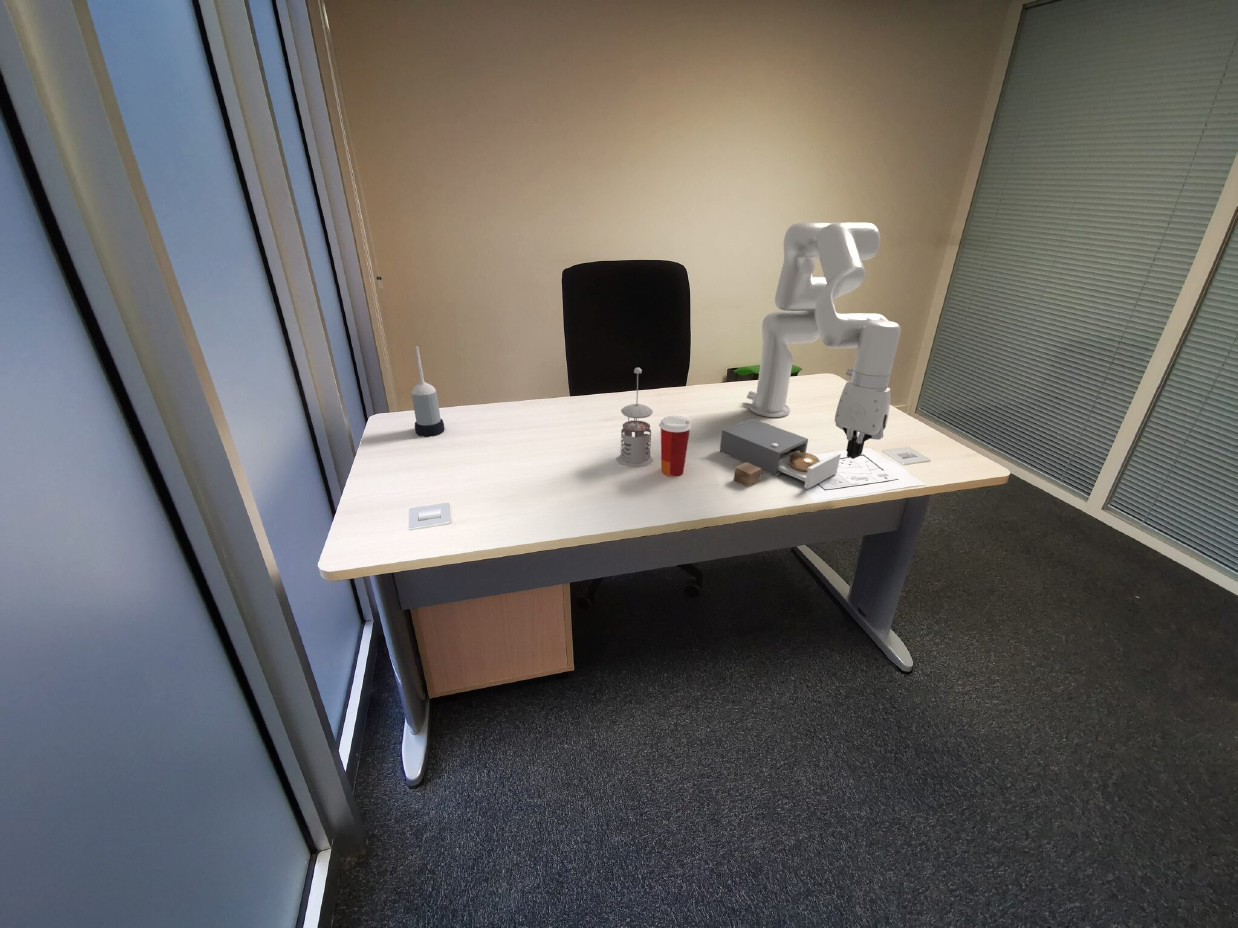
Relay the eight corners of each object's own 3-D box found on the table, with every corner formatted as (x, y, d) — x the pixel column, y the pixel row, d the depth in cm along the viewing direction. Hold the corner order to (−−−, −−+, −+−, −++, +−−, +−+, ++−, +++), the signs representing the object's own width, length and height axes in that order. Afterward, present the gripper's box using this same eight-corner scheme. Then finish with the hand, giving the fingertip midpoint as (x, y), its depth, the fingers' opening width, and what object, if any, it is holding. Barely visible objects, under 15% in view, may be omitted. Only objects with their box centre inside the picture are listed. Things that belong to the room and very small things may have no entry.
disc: (810, 475, 132) (811, 468, 131) (783, 466, 136) (784, 459, 135) (822, 465, 136) (823, 458, 135) (796, 456, 140) (797, 449, 139)
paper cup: (690, 467, 139) (694, 417, 133) (683, 481, 133) (687, 428, 126) (661, 462, 141) (663, 413, 135) (653, 475, 135) (655, 424, 129)
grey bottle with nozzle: (444, 424, 163) (431, 342, 151) (445, 435, 156) (432, 349, 145) (415, 427, 161) (401, 344, 149) (415, 438, 154) (400, 352, 142)
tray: (746, 462, 141) (749, 443, 139) (776, 448, 149) (778, 431, 147) (807, 489, 129) (811, 469, 127) (836, 472, 137) (840, 453, 134)
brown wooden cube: (733, 479, 134) (735, 467, 132) (745, 474, 136) (746, 462, 135) (748, 486, 130) (750, 474, 129) (759, 481, 133) (761, 468, 131)
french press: (620, 468, 138) (621, 374, 127) (613, 449, 148) (614, 360, 137) (657, 466, 140) (662, 373, 128) (648, 447, 150) (651, 359, 138)
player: (719, 451, 148) (722, 428, 145) (749, 439, 155) (752, 417, 152) (775, 475, 136) (779, 451, 132) (804, 461, 143) (808, 437, 140)
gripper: (829, 374, 119) (815, 450, 127) (896, 391, 109) (876, 472, 117) (846, 369, 124) (832, 442, 132) (912, 384, 114) (892, 462, 122)
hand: (853, 456), depth 124 cm, fingers closed
